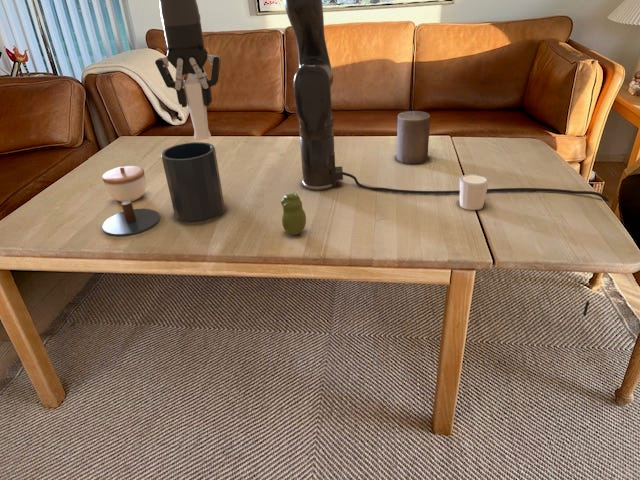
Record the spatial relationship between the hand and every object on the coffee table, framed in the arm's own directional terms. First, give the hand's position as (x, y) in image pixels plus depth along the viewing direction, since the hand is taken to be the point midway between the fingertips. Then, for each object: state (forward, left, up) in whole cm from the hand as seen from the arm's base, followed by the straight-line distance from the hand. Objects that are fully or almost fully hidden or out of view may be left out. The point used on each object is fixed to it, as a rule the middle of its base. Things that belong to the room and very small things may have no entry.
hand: (196, 105), depth 106 cm
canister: (+5, -4, -28) cm, 29 cm away
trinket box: (+27, -15, -29) cm, 42 cm away
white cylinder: (-64, -1, -29) cm, 70 cm away
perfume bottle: (0, 0, -8) cm, 8 cm away
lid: (+21, +1, -28) cm, 35 cm away
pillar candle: (-55, -35, -29) cm, 71 cm away
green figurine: (-20, +9, -29) cm, 36 cm away
